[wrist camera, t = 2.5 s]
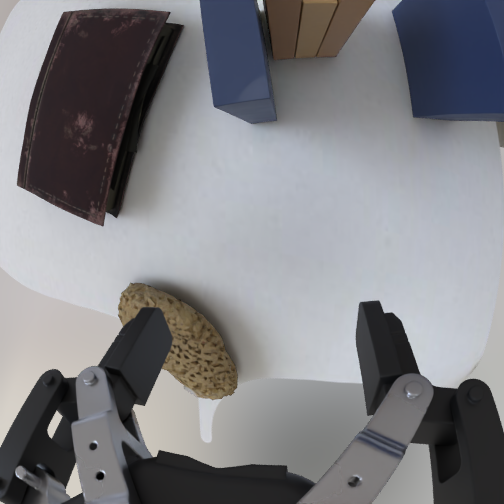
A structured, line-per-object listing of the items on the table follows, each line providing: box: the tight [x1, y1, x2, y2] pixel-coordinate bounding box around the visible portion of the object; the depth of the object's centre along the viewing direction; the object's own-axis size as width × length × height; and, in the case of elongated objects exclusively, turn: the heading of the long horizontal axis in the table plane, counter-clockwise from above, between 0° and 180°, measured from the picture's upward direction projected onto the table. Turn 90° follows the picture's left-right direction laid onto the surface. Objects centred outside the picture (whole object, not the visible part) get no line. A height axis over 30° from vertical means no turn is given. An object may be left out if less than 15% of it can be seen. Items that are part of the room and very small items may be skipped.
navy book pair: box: [392, 0, 504, 122], centre depth 15 cm, size 6×14×17 cm, turn 7°
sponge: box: [118, 283, 238, 400], centre depth 37 cm, size 13×8×20 cm
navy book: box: [200, 0, 277, 124], centre depth 18 cm, size 3×14×17 cm, turn 7°
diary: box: [17, 9, 184, 226], centre depth 26 cm, size 19×25×5 cm
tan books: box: [263, 0, 375, 60], centre depth 16 cm, size 7×7×16 cm
